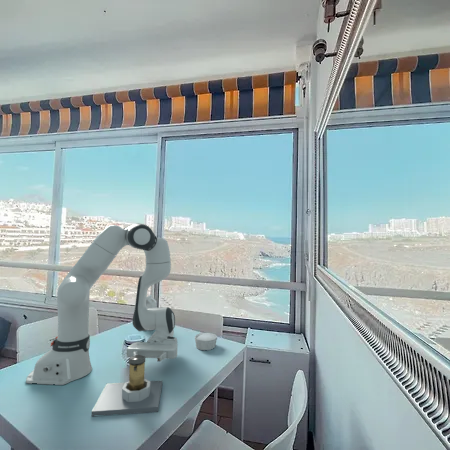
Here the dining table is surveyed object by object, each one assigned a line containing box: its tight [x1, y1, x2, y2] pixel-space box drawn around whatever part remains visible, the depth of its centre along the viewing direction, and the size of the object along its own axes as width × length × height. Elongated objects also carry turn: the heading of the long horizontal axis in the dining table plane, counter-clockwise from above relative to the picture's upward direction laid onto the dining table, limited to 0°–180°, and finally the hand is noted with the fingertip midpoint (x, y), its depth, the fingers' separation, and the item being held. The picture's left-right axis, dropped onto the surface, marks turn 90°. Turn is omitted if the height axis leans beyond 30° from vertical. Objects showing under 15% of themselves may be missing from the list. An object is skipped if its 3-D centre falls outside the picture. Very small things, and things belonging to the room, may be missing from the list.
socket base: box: [91, 377, 163, 417], centre depth 96 cm, size 20×16×4 cm
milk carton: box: [146, 294, 158, 308], centre depth 165 cm, size 7×7×19 cm
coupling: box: [128, 355, 146, 391], centre depth 96 cm, size 8×5×12 cm
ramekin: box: [194, 332, 218, 351], centre depth 140 cm, size 11×11×5 cm
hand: (146, 359), depth 106 cm, fingers open, 8 cm apart
